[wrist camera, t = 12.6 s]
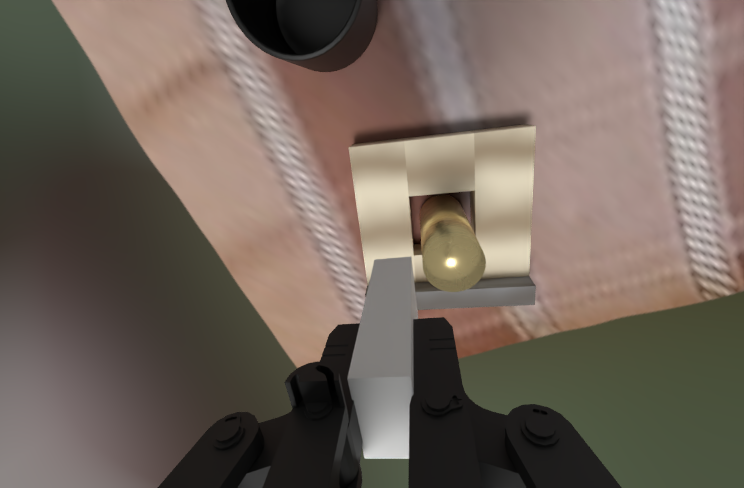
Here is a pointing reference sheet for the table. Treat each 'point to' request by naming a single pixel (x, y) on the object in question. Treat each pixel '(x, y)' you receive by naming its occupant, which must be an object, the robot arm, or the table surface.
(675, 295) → the table surface
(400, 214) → the jig
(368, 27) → the mug
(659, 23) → the table surface
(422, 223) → the pale yellow cylinder
